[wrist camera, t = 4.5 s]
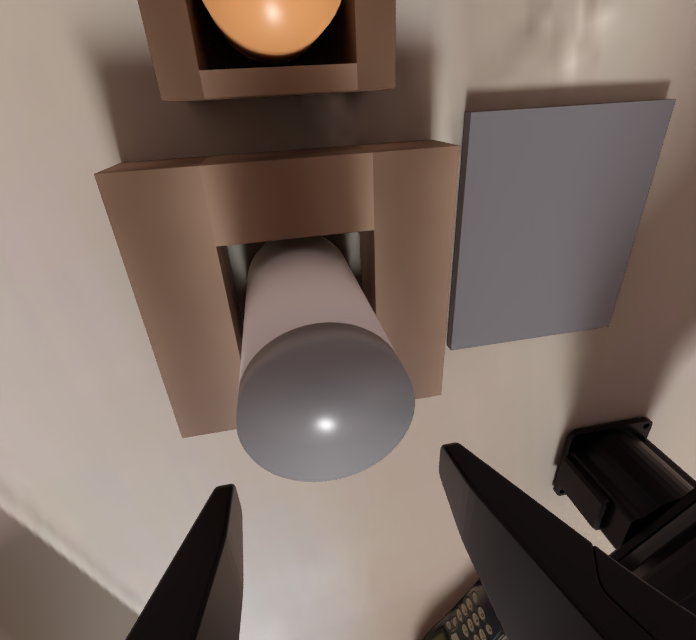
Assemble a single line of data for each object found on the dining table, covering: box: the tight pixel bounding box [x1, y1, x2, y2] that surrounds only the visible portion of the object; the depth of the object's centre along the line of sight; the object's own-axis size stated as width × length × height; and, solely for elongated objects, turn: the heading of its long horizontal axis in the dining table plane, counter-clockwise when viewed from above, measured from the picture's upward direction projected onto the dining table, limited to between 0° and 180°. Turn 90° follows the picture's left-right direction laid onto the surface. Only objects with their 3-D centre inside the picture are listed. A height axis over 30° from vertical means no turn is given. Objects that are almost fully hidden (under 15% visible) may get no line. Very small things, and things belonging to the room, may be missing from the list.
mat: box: [447, 99, 676, 350], centre depth 21 cm, size 10×12×1 cm
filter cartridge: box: [236, 236, 415, 482], centre depth 16 cm, size 5×5×10 cm
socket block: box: [94, 0, 460, 438], centre depth 16 cm, size 13×20×4 cm, turn 2°
